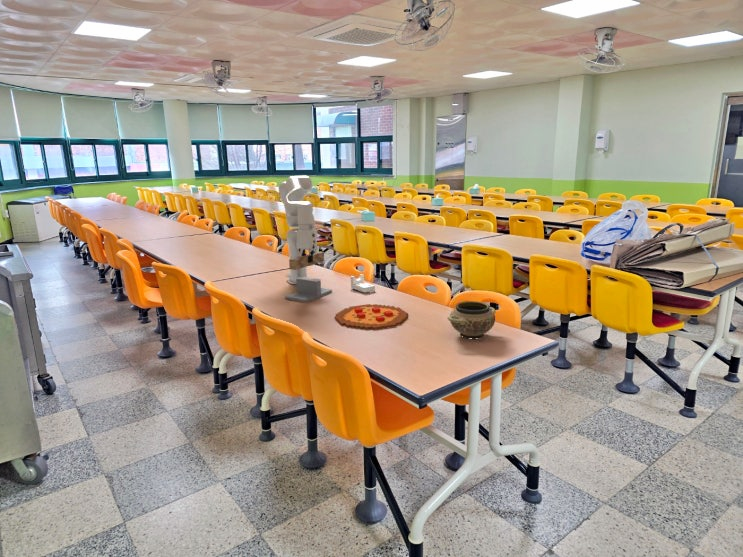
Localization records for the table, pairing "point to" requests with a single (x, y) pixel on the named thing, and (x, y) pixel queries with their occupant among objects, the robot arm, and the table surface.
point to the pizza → (371, 316)
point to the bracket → (361, 284)
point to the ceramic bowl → (472, 319)
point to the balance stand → (308, 289)
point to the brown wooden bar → (305, 260)
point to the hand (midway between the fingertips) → (307, 261)
